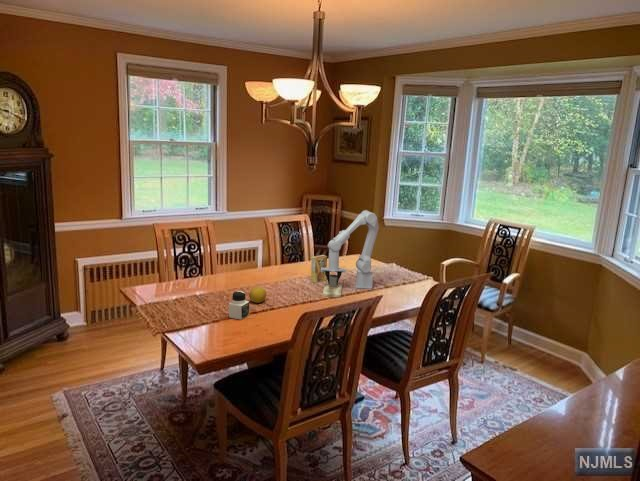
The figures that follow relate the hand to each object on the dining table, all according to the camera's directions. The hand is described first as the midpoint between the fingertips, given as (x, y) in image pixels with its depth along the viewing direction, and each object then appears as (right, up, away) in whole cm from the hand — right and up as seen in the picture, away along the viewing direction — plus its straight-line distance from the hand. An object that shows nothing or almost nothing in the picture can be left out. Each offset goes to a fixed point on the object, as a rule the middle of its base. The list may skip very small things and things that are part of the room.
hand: (333, 284), depth 277 cm
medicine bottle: (-46, -12, -45) cm, 65 cm away
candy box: (-8, 0, +14) cm, 16 cm away
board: (0, -4, -4) cm, 6 cm away
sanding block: (0, -1, 0) cm, 1 cm away
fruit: (-40, -7, -24) cm, 47 cm away
